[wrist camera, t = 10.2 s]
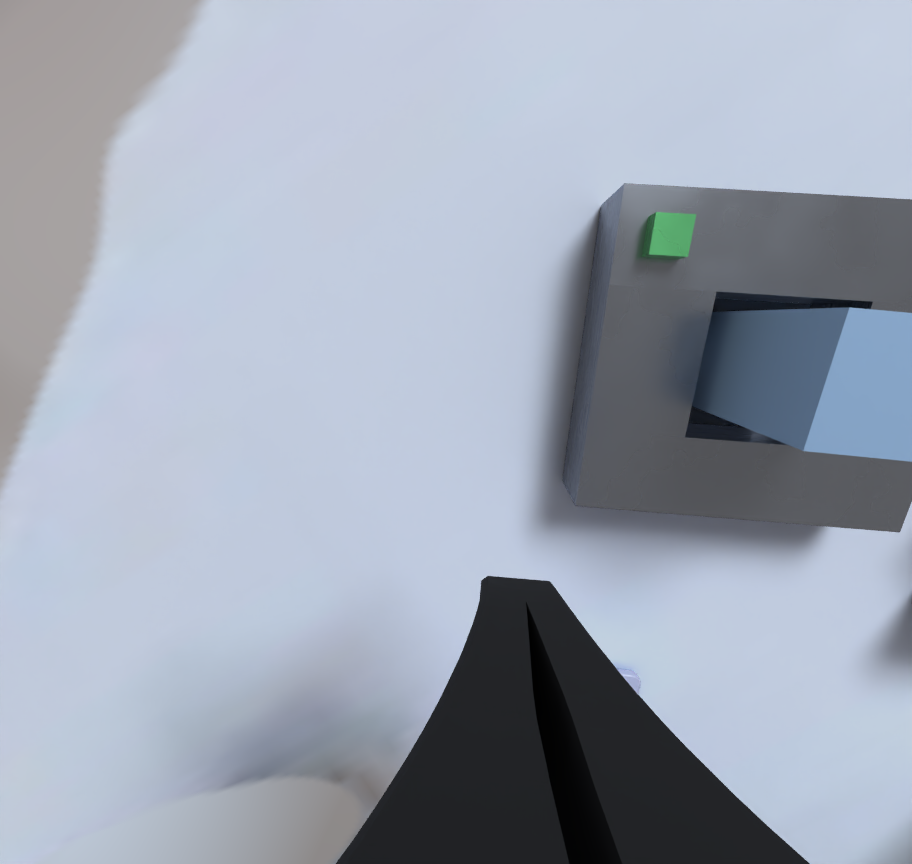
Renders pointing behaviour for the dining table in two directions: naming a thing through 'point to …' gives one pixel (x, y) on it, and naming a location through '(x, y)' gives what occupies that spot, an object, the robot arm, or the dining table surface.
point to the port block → (683, 340)
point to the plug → (813, 378)
